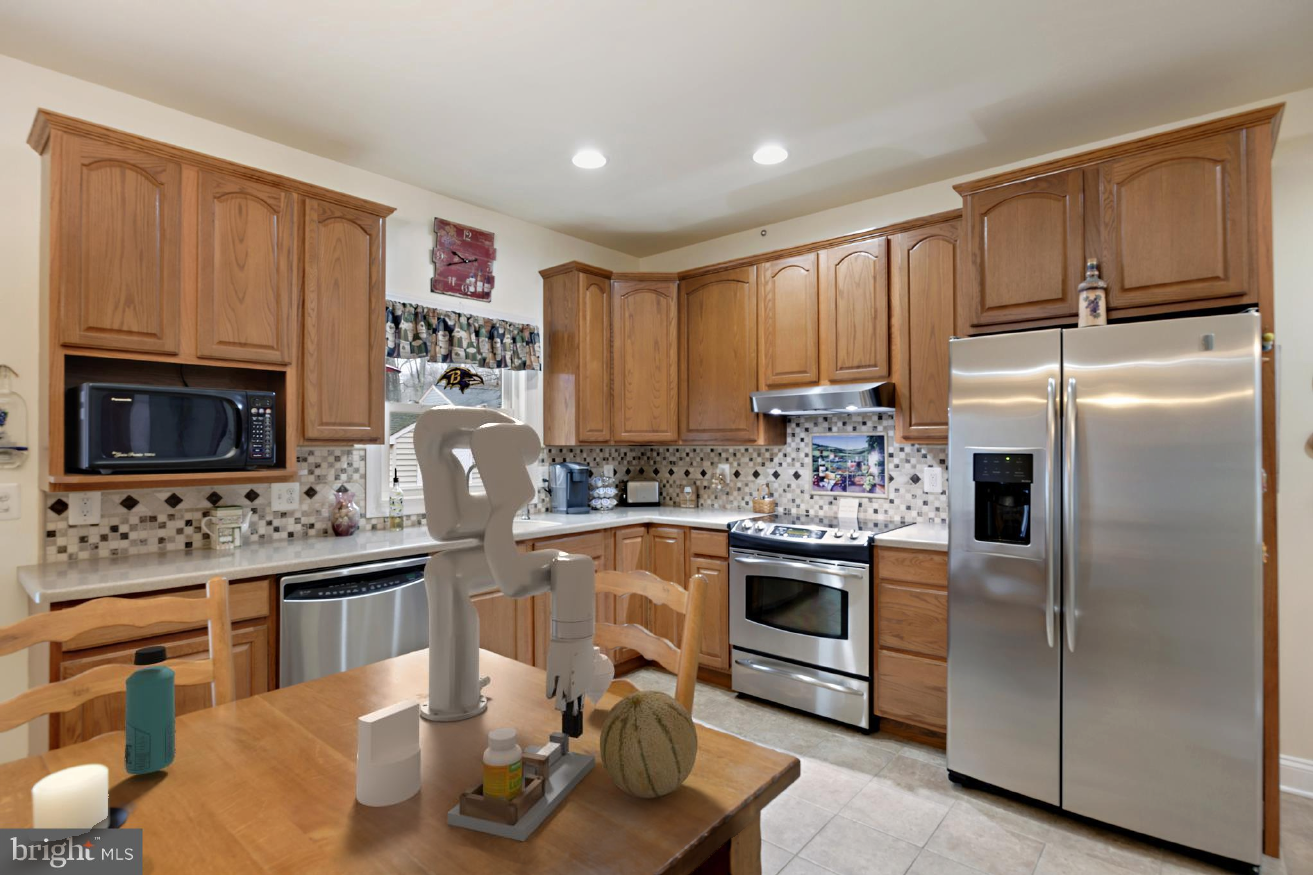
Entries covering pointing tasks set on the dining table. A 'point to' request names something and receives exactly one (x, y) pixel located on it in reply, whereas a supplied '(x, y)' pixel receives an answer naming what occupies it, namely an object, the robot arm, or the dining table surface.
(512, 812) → the socket
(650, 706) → the cantaloupe
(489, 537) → the robot arm
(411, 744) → the cylinder with rectangular tab
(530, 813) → the dock board
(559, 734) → the pin
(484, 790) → the supplement bottle
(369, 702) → the dining table surface
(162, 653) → the beverage bottle
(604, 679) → the spinning top
